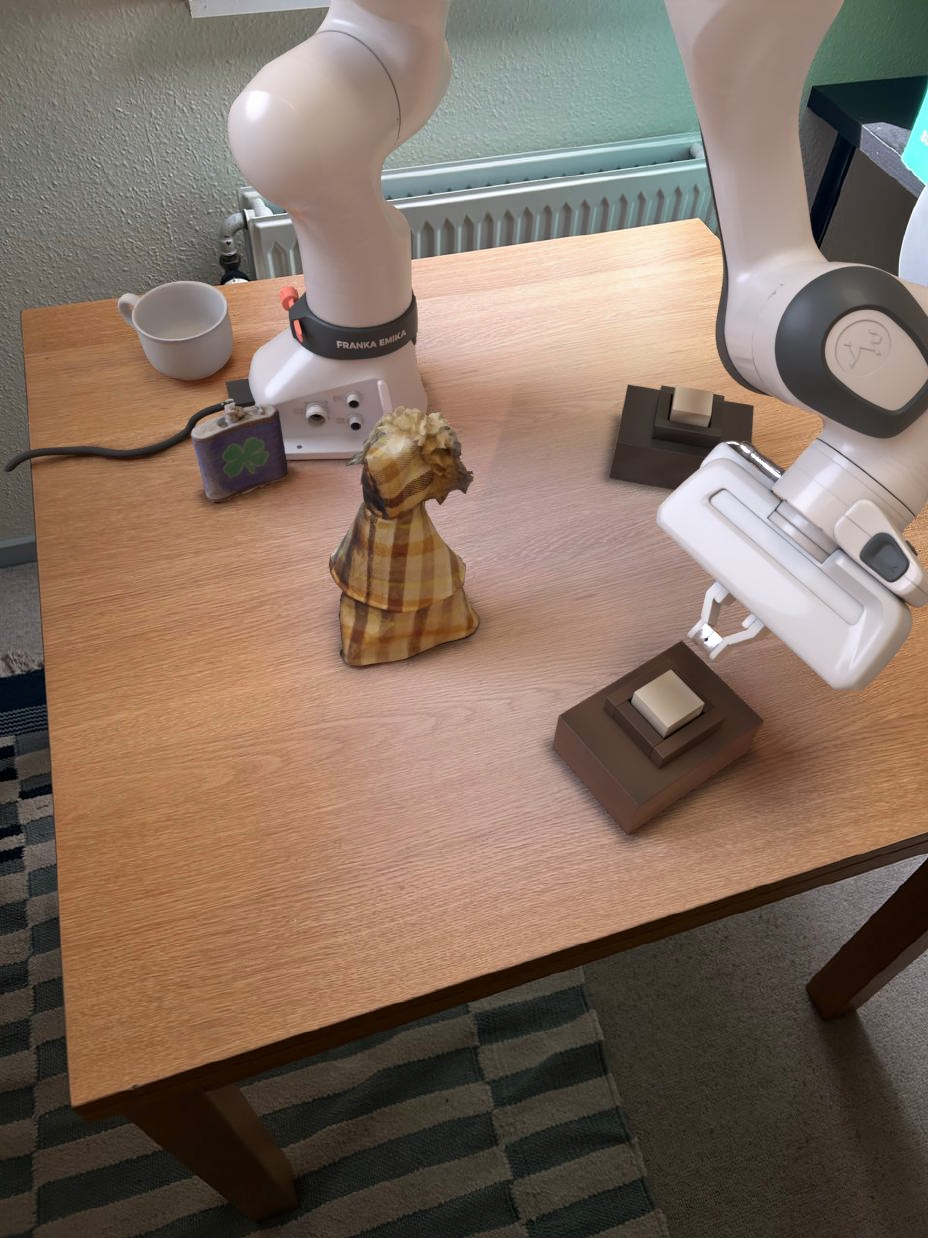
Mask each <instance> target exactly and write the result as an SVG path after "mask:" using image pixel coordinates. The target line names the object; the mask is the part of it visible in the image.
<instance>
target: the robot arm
mask: <svg viewBox="0 0 928 1238" xmlns="http://www.w3.org/2000/svg"><path fill="white" fill-rule="evenodd" d="M451 2H452V0H330V1H329V8H328V11H327V13H326V15H325V18H324V19H323V21H322V23H321V24H320V25H319V27H318V29H317V30H316V31H315V33H313V35H310V36H309V38H307V40H304V41H302V42H301V43H299V44H298V45H296V46H295V47H293V48H291V49H290V50H288V51H285V52H284V53H282V54H281V55H279V56H278V57H276V58H275V59H274V58H273V60H271V61H270V62H268V63H266V64H265V65H264V66H263V67H262V68H261V69H260V70H259V71H258V72H257V73H256V74H255V76H254V77H253V78H252V79H251V80H250V81H249V82H248V84H246V86H245V87H244V89H243V90H242V91H241V92H240V94H239V95H238V96H237V97H236V98H235V100H234V101H233V102H232V104H231V106H230V110H229V111H228V112H229V113H228V117H227V137H228V143H229V147H230V150H231V154H232V157H233V159H234V161H235V164H236V166H237V168H238V169H239V171H240V173H241V174H242V176H243V178H244V179H245V180H246V182H247V183H248V184H249V185H250V187H251V188H253V190H254V191H256V193H258V194H259V195H260V196H261V197H263V198H264V199H266V201H268V202H270V203H271V204H274V205H276V206H277V207H280V208H282V209H284V211H285V212H286V214H287V216H288V217H289V220H290V222H291V223H292V227H293V229H294V231H295V235H296V238H297V243H298V249H299V255H300V261H301V269H302V275H303V282H304V289H305V290H304V292H303V294H302V295H300V296H299V292H298V289H297V288H295V287H294V286H291V285H286V286H284V287H282V288H281V290H280V291H279V300H280V301H281V307H282V308H283V309H284V310H285V311H287V312H288V321H289V325H288V326H287V327H286V328H285V329H283V330H282V331H281V332H279V333H278V334H277V335H276V336H274V337H273V338H271V339H270V340H268V341H267V342H265V343H264V344H263V345H261V346H260V347H259V348H258V349H257V350H256V351H255V352H254V354H253V355H252V358H251V362H250V366H249V372H248V376H247V377H244V378H241V379H234V380H229V381H225V387H226V392H227V396H228V399H233V400H234V401H231V402H228V403H226V402H225V400H223V401H221V402H219V403H216V404H213V405H210V406H207V407H205V408H202V409H200V410H199V411H197V412H195V413H194V414H193V415H192V416H191V417H189V419H188V421H187V423H186V425H185V427H184V428H183V429H182V430H181V431H179V432H178V433H176V434H175V435H173V436H172V437H170V438H168V439H166V440H163V441H161V442H158V443H155V444H152V445H148V446H143V447H137V448H131V449H115V448H107V447H99V446H91V445H85V446H84V445H80V446H79V445H77V446H52V447H40V448H34V449H29V450H26V451H23V452H20V453H18V454H17V455H15V456H14V457H13V458H11V459H10V460H9V461H8V462H7V463H6V464H5V466H4V469H3V472H4V473H11V472H13V471H14V470H15V469H16V468H18V466H19V465H21V464H22V463H24V462H26V461H28V460H31V459H36V458H41V457H50V456H52V457H53V456H72V455H73V456H77V455H94V456H103V457H108V458H114V459H115V458H116V459H132V458H137V457H143V456H148V455H152V454H156V453H159V452H162V451H165V450H167V449H169V448H172V447H174V446H175V445H177V444H178V443H180V442H182V441H183V440H185V439H186V438H188V437H189V436H191V432H192V430H193V429H194V428H195V427H196V426H197V424H198V423H199V421H201V420H203V419H204V418H206V417H208V416H210V415H213V414H216V413H219V412H222V411H225V405H227V404H231V403H235V406H239V407H242V408H246V407H251V406H254V405H258V404H259V405H260V404H266V403H268V404H271V405H273V406H275V408H276V409H277V410H278V411H279V415H280V422H281V429H282V434H283V442H284V447H285V454H286V460H287V461H297V460H341V459H344V460H345V459H352V457H353V455H355V454H358V453H360V452H361V451H363V449H364V445H365V444H366V442H367V440H368V435H369V433H370V431H371V430H372V428H373V427H374V426H375V424H376V423H377V422H378V421H379V420H380V419H381V418H382V416H383V415H384V414H386V413H392V412H395V411H394V409H396V408H397V407H399V406H405V407H407V408H409V409H410V410H413V409H415V408H416V409H419V410H421V411H422V412H423V413H424V416H425V415H426V414H427V412H428V407H429V400H428V399H429V398H428V394H427V392H426V390H425V387H424V384H423V380H422V377H421V372H420V368H419V363H418V358H417V352H416V345H417V343H418V341H417V339H418V338H417V337H418V332H419V318H418V317H419V312H418V310H419V309H418V302H417V296H416V295H415V293H414V289H413V272H412V271H413V269H412V268H413V267H412V266H413V265H412V263H413V262H412V232H411V227H410V224H409V222H408V219H407V217H405V215H404V213H402V211H401V210H399V209H398V208H397V207H396V206H395V205H394V204H392V203H391V202H390V201H388V200H387V199H385V196H384V192H383V186H382V174H383V167H384V164H385V161H386V159H387V158H388V157H389V156H390V155H391V154H392V153H393V152H395V151H396V150H397V149H399V148H400V147H401V146H402V145H404V144H405V143H406V142H407V141H409V140H410V139H411V138H412V137H414V136H415V135H416V134H417V133H419V132H420V131H422V129H423V128H424V127H425V125H426V124H427V123H428V122H429V120H430V119H431V117H432V116H433V114H434V113H435V112H436V110H437V109H438V108H439V105H440V104H441V103H442V101H443V99H444V98H445V96H446V93H447V91H448V89H449V87H450V83H451V78H452V77H451V76H452V59H451V54H450V49H449V46H448V42H447V40H446V31H447V24H448V17H449V12H450V7H451ZM844 2H845V0H663V3H664V7H665V10H666V14H667V16H668V21H669V25H670V27H671V30H672V33H673V37H674V39H675V43H676V46H677V49H678V52H679V55H680V60H681V63H682V66H683V69H684V70H683V71H684V73H685V77H686V80H687V85H688V88H689V92H690V95H691V99H692V103H693V105H694V108H695V112H696V116H697V120H698V126H699V132H700V137H701V144H702V149H703V156H704V160H705V166H706V167H705V168H706V171H707V177H708V182H709V188H710V193H711V199H712V204H713V212H714V215H715V222H716V227H717V233H718V237H719V244H720V248H721V256H722V257H721V258H722V284H721V290H720V294H719V295H720V296H719V302H718V306H717V313H716V317H715V318H716V319H715V329H714V330H715V331H714V333H715V334H714V336H715V345H716V350H717V353H718V357H719V360H720V362H721V365H722V366H723V368H724V369H725V371H726V372H727V374H728V375H729V376H730V378H731V379H733V381H734V382H736V383H737V384H738V385H739V386H741V387H742V388H744V389H746V390H747V391H749V392H751V393H754V394H757V395H762V396H767V397H771V398H775V399H777V400H778V401H780V402H782V403H784V404H787V405H789V406H792V407H794V408H798V409H800V410H802V411H804V412H806V413H808V414H812V415H816V416H818V417H819V418H820V419H821V421H822V429H821V431H820V432H819V434H818V435H817V436H816V437H815V439H813V441H812V442H810V444H809V445H808V446H807V447H806V448H805V449H804V451H803V452H802V453H801V454H800V455H799V456H798V457H797V458H796V459H795V460H794V462H793V463H792V464H791V465H790V466H789V467H788V468H787V469H784V468H783V467H781V466H780V465H779V464H778V463H776V462H775V461H773V460H772V459H771V458H769V457H767V456H766V455H764V454H763V453H762V452H760V451H759V449H758V448H757V447H756V446H755V445H754V444H753V443H752V444H751V443H749V442H747V441H742V442H738V441H726V442H723V443H720V444H719V445H717V446H716V447H715V448H714V449H713V450H712V451H711V452H710V454H709V455H708V456H707V457H706V458H705V459H704V461H703V462H702V464H701V466H700V469H698V470H697V471H696V472H695V473H694V474H692V475H691V476H690V477H689V478H688V479H687V480H685V481H684V482H683V483H682V484H681V485H680V486H679V487H678V488H677V489H676V490H673V491H672V492H671V493H670V494H669V495H668V496H667V497H666V498H665V499H664V500H663V502H662V503H660V505H659V506H658V508H657V509H656V517H655V518H656V519H655V525H656V526H657V527H658V528H659V529H660V530H661V531H662V532H663V533H664V534H665V535H666V536H667V537H668V538H670V539H671V541H673V542H674V543H675V544H676V545H677V546H678V547H679V548H680V549H681V550H682V551H683V552H685V553H686V554H687V555H688V556H689V557H690V558H691V559H692V560H693V561H694V562H696V563H697V564H698V565H699V566H700V567H701V568H702V569H703V570H704V571H705V572H706V573H707V574H708V575H709V576H711V577H712V578H713V579H714V580H715V582H714V583H713V584H712V585H710V587H709V588H708V589H707V590H706V592H705V595H704V600H703V604H702V608H701V612H700V619H699V620H698V621H697V622H696V624H694V626H693V627H692V628H691V629H690V630H689V631H688V633H687V635H686V637H688V638H689V640H691V642H692V643H693V644H695V645H696V646H697V647H698V648H699V649H700V650H701V651H702V652H703V653H704V654H705V655H706V656H707V657H708V658H709V659H710V660H711V661H712V662H713V663H715V664H716V663H717V664H720V663H721V662H722V661H724V660H725V659H726V657H727V656H729V655H730V653H731V652H733V650H734V649H735V648H740V647H743V646H747V645H750V644H754V643H755V644H756V643H758V642H761V641H763V640H765V638H766V637H767V636H768V635H770V633H772V634H773V635H774V636H775V637H777V639H779V640H780V642H782V643H783V644H784V645H785V646H786V647H787V648H788V649H789V650H790V651H792V652H793V653H794V654H795V655H796V656H797V657H798V658H799V659H800V660H801V661H802V662H803V663H805V665H807V666H808V667H809V668H810V669H811V670H812V671H813V672H814V673H815V674H817V676H819V678H821V680H823V681H824V682H825V683H826V684H827V685H828V686H829V687H831V689H832V690H833V691H835V692H839V693H842V694H854V693H855V694H856V693H857V694H858V693H861V692H862V691H864V690H865V689H867V688H868V687H869V686H870V685H871V684H872V682H874V680H875V679H877V677H878V676H880V674H881V673H882V672H883V671H884V670H885V668H887V666H888V665H889V664H890V663H891V661H892V660H893V659H894V658H895V656H896V655H897V654H898V653H899V651H900V650H901V648H902V647H903V646H904V644H905V643H906V641H907V640H908V638H909V636H910V634H911V632H912V629H913V624H914V619H913V614H912V610H911V609H910V607H912V608H914V609H920V608H922V607H924V606H926V605H927V604H928V571H927V570H926V568H925V566H924V564H923V563H922V562H921V561H920V559H919V557H918V556H919V553H918V552H917V550H916V548H915V546H914V545H912V543H911V542H910V541H909V540H906V538H905V536H904V535H903V534H904V533H905V530H906V528H908V526H909V525H910V524H911V523H912V522H913V521H915V520H916V518H917V517H918V516H919V515H920V514H921V512H922V510H923V509H924V507H925V505H926V504H927V502H928V286H927V285H923V284H919V283H915V282H911V281H909V280H907V279H904V278H901V277H899V276H896V275H894V274H892V273H890V272H888V271H886V270H883V269H881V268H878V267H877V266H876V267H875V266H873V265H867V264H865V263H856V262H845V261H844V262H843V261H828V259H827V258H826V257H825V256H824V254H823V253H822V251H820V249H819V247H818V246H817V243H816V240H815V238H814V236H813V235H814V234H813V230H812V223H811V216H810V207H809V202H808V193H807V187H806V179H805V170H804V163H803V156H802V148H801V140H800V130H799V129H800V128H799V117H800V116H799V115H800V106H801V99H802V95H803V91H804V87H805V84H806V81H807V78H808V75H809V72H810V69H811V67H812V64H813V62H814V60H815V57H816V55H817V53H818V51H819V49H820V47H821V45H822V43H823V41H824V39H825V37H826V35H827V33H828V32H829V30H830V29H831V26H832V25H833V23H834V22H835V20H836V18H837V16H838V14H839V12H840V11H841V8H842V7H843V4H844ZM221 403H224V404H223V405H221ZM730 446H736V447H737V451H738V452H739V453H737V452H736V451H735V450H734V449H732V448H731V447H730ZM747 460H748V461H750V462H751V463H750V462H748V461H747ZM736 600H737V601H738V602H739V603H740V604H741V605H742V606H743V607H744V608H745V609H746V610H747V611H748V612H749V613H750V614H749V615H748V616H747V617H746V618H745V619H744V620H743V621H742V623H741V626H742V627H743V628H744V629H746V630H742V631H740V632H735V633H733V634H730V635H727V636H725V635H724V634H723V633H722V632H721V631H720V630H719V629H718V628H717V627H716V626H717V623H718V620H719V616H720V613H721V610H722V606H725V607H730V606H731V605H732V604H733V603H734V602H735V601H736ZM909 606H910V607H909Z"/></svg>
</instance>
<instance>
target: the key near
mask: <svg viewBox="0 0 928 1238" xmlns="http://www.w3.org/2000/svg"><path fill="white" fill-rule="evenodd" d="M631 704H632V705H633V706H634V708H635V709H636V710H637V711H638V712H639V713H640V714H641V715H642V716H643V717H644V718H645V719H646V720H647V721H648V722H649V724H650V725H651V726H652V727H653V728H654V729H655V730H656V731H657V732H658V733H659V734H660V735H661V736H662V737H663V738H665V737H667V736H668V735H670V734H671V733H673V732H674V731H676V730H677V729H679V728H681V727H682V726H684V725H685V724H687V723H688V722H690V721H691V720H693V719H694V718H696V717H697V716H699V715H700V713H701V711H702V708H703V706H704V702H703V701H702V700H701V699H700V698H699V697H698V696H697V695H696V694H695V693H694V692H693V691H692V690H691V689H690V688H689V687H688V686H687V685H686V684H685V683H684V682H683V681H682V680H681V679H680V678H679V677H678V676H677V675H676V674H675V673H674V672H673V671H672V670H669V671H668V672H666V673H664V674H663V675H661V676H660V677H658V678H656V679H655V680H653V681H651V682H650V683H648V684H647V685H645V686H643V687H642V688H640V689H639V690H637V691H635V692H634V695H633V698H632V701H631Z"/></svg>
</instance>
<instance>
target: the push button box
mask: <svg viewBox="0 0 928 1238" xmlns="http://www.w3.org/2000/svg"><path fill="white" fill-rule="evenodd" d="M669 670H672V671H673V672H674V673H675V674H676V675H677V676H678V677H679V678H680V679H681V680H682V681H683V682H684V683H685V684H686V685H687V686H688V687H689V688H690V689H691V690H692V691H693V692H694V693H695V694H696V695H697V696H698V697H699V698H700V699H701V700H702V701H703V702H704V706H703V708H702V711H701V713H700V715H699V716H697V717H696V718H694V719H693V720H691V721H690V722H688V723H687V724H685V725H684V726H682V727H681V728H679V729H677V730H676V731H674V732H673V733H671V734H670V735H668V736H667V737H665V738H663V737H662V736H661V735H660V734H659V733H658V732H657V731H656V730H655V729H654V728H653V727H652V726H651V725H650V724H649V722H648V721H647V720H646V719H645V718H644V717H643V716H642V715H641V714H640V713H639V712H638V711H637V710H636V709H635V708H634V706H633V705H632V704H631V701H632V698H633V695H634V692H635V691H637V690H639V689H640V688H642V687H643V686H645V685H647V684H648V683H650V682H651V681H653V680H655V679H656V678H658V677H660V676H661V675H663V674H664V673H666V672H668V671H669ZM764 722H765V720H764V719H763V718H762V717H761V716H760V715H759V714H758V713H757V712H756V711H755V710H754V709H753V708H752V707H751V706H750V705H749V704H748V703H747V702H746V701H745V700H744V699H743V698H742V697H741V696H740V695H739V694H737V692H736V691H734V689H732V688H731V686H730V685H728V683H726V682H725V681H724V679H722V678H721V677H720V676H719V675H718V674H717V673H716V672H715V671H714V670H713V669H712V668H711V667H710V666H709V665H707V663H706V662H705V661H704V660H703V659H701V658H700V656H699V655H697V654H696V653H695V652H694V651H693V649H691V648H690V647H689V646H688V645H687V644H686V643H685V642H684V641H683V640H680V641H678V642H676V643H675V644H673V645H671V646H670V647H668V648H667V649H665V650H663V651H662V652H660V653H658V654H657V655H656V656H654V657H652V658H650V659H649V660H648V661H646V662H644V663H642V664H641V665H639V666H637V667H636V668H634V669H632V670H631V671H629V672H628V673H626V674H624V675H623V676H621V677H620V678H618V679H616V680H615V681H613V682H611V683H610V684H608V685H606V686H605V687H603V688H602V689H599V691H596V692H594V693H593V694H592V695H590V696H588V697H587V698H585V699H584V700H581V701H580V702H579V703H577V704H576V705H573V706H572V707H571V708H569V709H567V710H566V711H564V712H562V713H561V714H559V715H558V718H557V723H556V727H555V732H554V736H553V742H552V745H551V748H553V750H554V751H555V752H556V753H557V754H558V756H559V757H560V758H561V759H562V760H563V762H564V763H565V764H566V765H567V766H568V767H569V769H570V770H571V771H572V772H573V773H574V774H575V775H576V777H577V778H578V779H579V780H580V781H581V783H582V784H583V785H584V786H585V787H586V789H588V791H589V792H590V793H591V795H593V797H594V798H595V799H596V800H597V801H598V803H599V804H600V805H601V807H603V808H604V810H605V811H606V812H607V813H608V814H609V815H610V817H611V818H612V819H613V820H614V821H615V822H616V824H617V825H618V826H619V827H620V828H621V829H622V831H623V832H624V833H625V834H626V836H628V835H630V834H631V833H632V832H635V830H637V829H638V828H640V827H641V826H642V825H644V824H645V823H647V822H648V821H650V820H651V819H652V818H655V817H656V816H657V815H658V814H660V813H661V812H662V811H665V810H666V809H667V808H668V807H670V806H672V805H673V804H674V803H676V802H678V800H680V799H681V798H683V797H684V796H685V795H687V794H689V793H690V792H691V791H693V790H694V789H696V788H697V787H699V786H700V785H701V784H702V783H704V782H706V781H707V780H709V779H710V778H711V777H713V776H714V775H716V774H717V773H718V772H720V771H722V769H724V768H726V767H727V766H729V765H730V764H731V763H733V762H734V761H736V760H738V758H740V757H741V756H743V755H744V754H746V753H747V752H748V750H749V749H750V747H751V746H752V743H753V742H754V740H755V738H756V737H757V735H758V733H759V731H760V729H761V727H762V726H763V724H764Z"/></svg>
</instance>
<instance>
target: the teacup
mask: <svg viewBox="0 0 928 1238" xmlns="http://www.w3.org/2000/svg"><path fill="white" fill-rule="evenodd" d="M130 306H131V307H132V308H133V309H131V308H130ZM117 311H118V313H119V315H120V317H121V318H122V320H124V322H125V323H126V324H127V325H128V326H129V327H131V328H132V329H133V330H135V331H136V333H137V336H138V338H139V342H140V344H141V347H142V350H143V351H144V354H145V356H146V358H147V360H148V361H149V363H150V364H151V366H152V367H153V368H154V369H155V370H156V371H158V372H159V373H161V374H162V375H164V376H166V377H169V378H172V379H176V380H182V381H199V380H203V379H205V378H209V377H211V376H212V375H214V374H215V373H217V372H218V371H219V370H221V369H222V368H223V367H224V366H225V365H226V364H227V363H228V362H229V360H230V358H231V356H232V354H233V350H234V334H233V327H232V322H231V317H230V313H229V304H228V300H227V298H226V296H225V295H224V294H223V292H222V291H220V290H219V289H218V288H216V287H215V286H213V285H210V284H209V283H206V282H202V281H194V280H177V281H171V282H167V283H164V284H161V285H158V286H155V287H154V288H152V289H150V290H149V291H147V292H146V293H144V294H143V295H142V296H141V297H140V296H139V295H137V294H135V293H132V292H131V293H130V292H127V293H124V294H122V295H121V297H119V299H118V301H117Z"/></svg>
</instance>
